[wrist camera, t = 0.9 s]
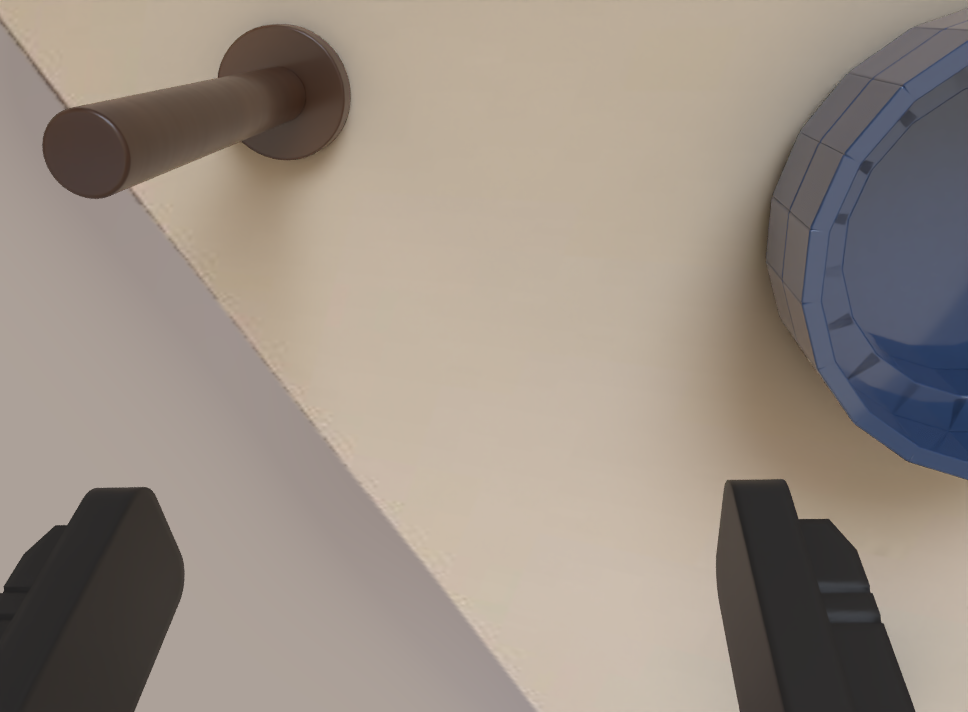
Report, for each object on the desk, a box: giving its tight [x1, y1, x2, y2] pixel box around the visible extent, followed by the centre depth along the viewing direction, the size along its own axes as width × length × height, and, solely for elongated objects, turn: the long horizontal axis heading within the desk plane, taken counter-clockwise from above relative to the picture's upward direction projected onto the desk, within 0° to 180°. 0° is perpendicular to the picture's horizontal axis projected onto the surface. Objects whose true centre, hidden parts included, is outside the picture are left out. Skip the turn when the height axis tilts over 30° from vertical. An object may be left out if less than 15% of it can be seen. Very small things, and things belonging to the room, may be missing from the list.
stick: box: [42, 24, 351, 199], centre depth 24 cm, size 4×4×14 cm
